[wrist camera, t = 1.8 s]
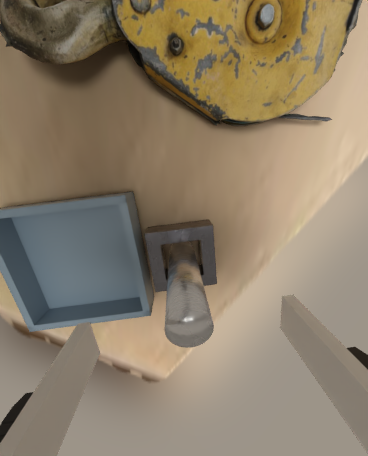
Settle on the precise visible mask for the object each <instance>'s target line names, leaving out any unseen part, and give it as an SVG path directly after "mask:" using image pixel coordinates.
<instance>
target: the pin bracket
mask: <svg viewBox="0 0 368 456" xmlns="http://www.w3.org/2000/svg"><path fill="white" fill-rule="evenodd" d="M145 239H146V245H147V250H148V255H149V260H150V265H151V270H152V276H153V281H154V286H155V291H156V292H160V291H167V285H168V269H167V267H166V261H165V254H164V248H163V244H170V243H178V242H186V241H194V240H199V250H200V260H201V265H198V266H199V270H200V274H201V278H202V282H203V286H206V285H213V284H217V277H216V263H215V248H214V234H213V225H212V223H211V222H210V221H209V220H202V221H194V222H186V223H179V224H171V225H163V226H155V227H148V228H147V230H146V232H145Z"/></svg>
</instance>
